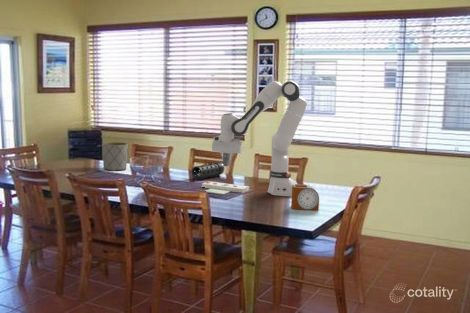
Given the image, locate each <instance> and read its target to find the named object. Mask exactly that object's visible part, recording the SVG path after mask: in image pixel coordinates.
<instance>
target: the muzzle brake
mask: <svg viewBox="0 0 470 313" xmlns="http://www.w3.org/2000/svg"><path fill="white" fill-rule="evenodd" d="M225 167H226V166H223V162H214V163H209V164H202V165H201V164H200V165H197V166H195V165H194V167H192V169H191V176H192V177H193V179H195V180H197V181H199V180H203V179H208V178H210V177H211V178H214V177H215V178H216V177H217V176H221V175H223V174H224V172H225V169H226V168H225Z"/></svg>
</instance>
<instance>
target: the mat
mask: <svg viewBox="0 0 470 313" xmlns="http://www.w3.org/2000/svg"><path fill="white" fill-rule="evenodd" d="M205 191H206V192H205V193H211V194H217V195H226V194H228V193H230V192H231V191H225V190H217V189H210V188H207V189H206V190H205Z"/></svg>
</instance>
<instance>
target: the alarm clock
mask: <svg viewBox="0 0 470 313" xmlns="http://www.w3.org/2000/svg"><path fill="white" fill-rule="evenodd" d="M290 207H291V209H292V210H297V211H301V210H302V211H319V210H320V195H319V193H318V191H317V190H316V188H314V187H313V186H311V185H309V184H305V183H304V184H301V183H297V184H295V185H292V197H291V202H290Z"/></svg>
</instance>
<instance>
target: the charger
mask: <svg viewBox="0 0 470 313" xmlns="http://www.w3.org/2000/svg"><path fill="white" fill-rule="evenodd" d="M229 156H230V153H226V152H224V153H223V159H222V164H223V166H224V167H229V166H231V165H230V161H231V160H228V157H229Z"/></svg>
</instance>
